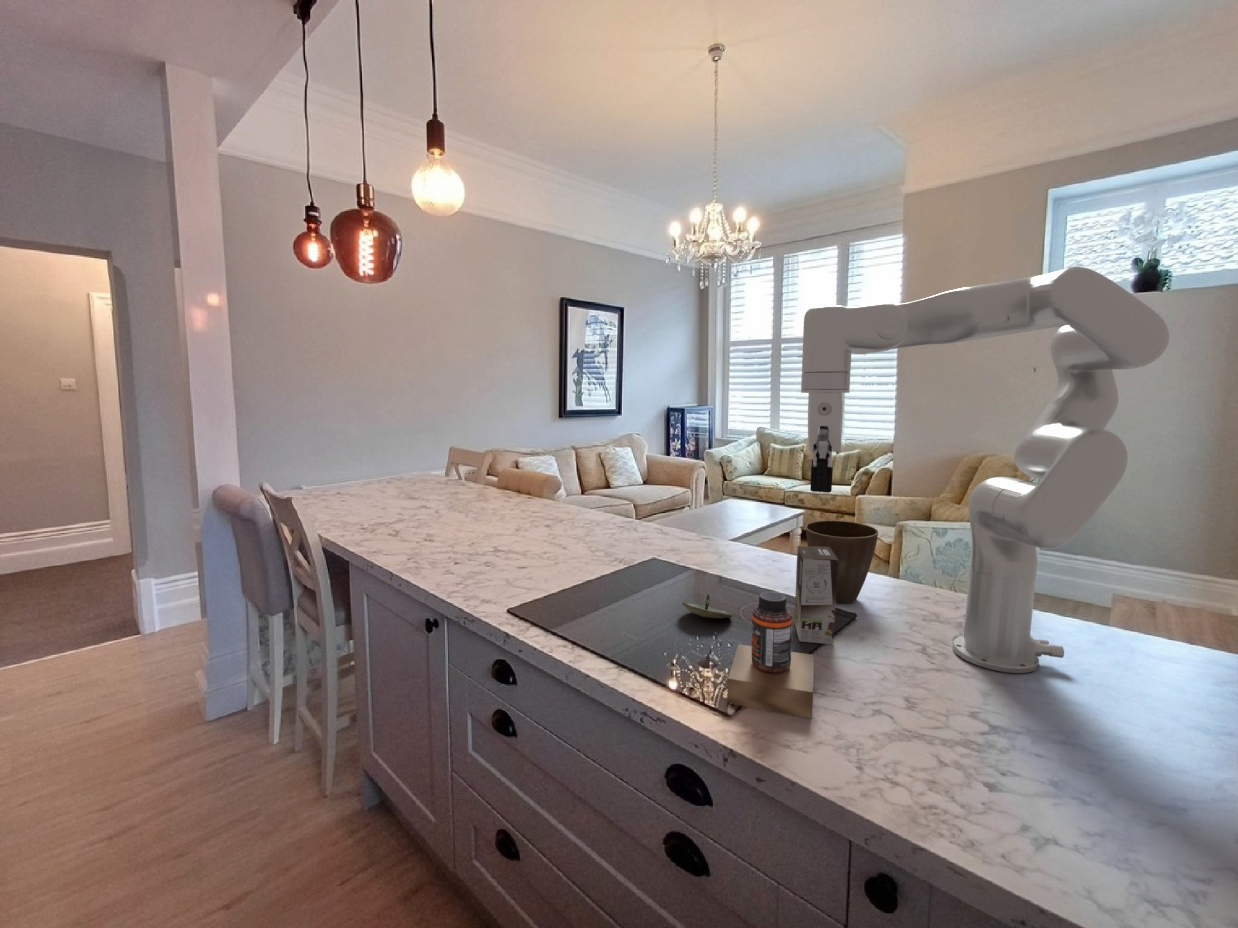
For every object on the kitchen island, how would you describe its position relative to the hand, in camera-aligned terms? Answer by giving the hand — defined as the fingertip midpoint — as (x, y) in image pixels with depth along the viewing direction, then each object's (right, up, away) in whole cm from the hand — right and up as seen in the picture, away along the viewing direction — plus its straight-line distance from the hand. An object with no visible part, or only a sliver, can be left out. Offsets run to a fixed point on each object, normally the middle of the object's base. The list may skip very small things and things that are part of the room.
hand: (820, 486), depth 96 cm
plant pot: (+15, -26, +32) cm, 44 cm away
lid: (-16, -28, +21) cm, 38 cm away
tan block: (-10, -32, -7) cm, 34 cm away
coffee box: (+3, -29, +14) cm, 32 cm away
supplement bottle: (-10, -28, -7) cm, 30 cm away
